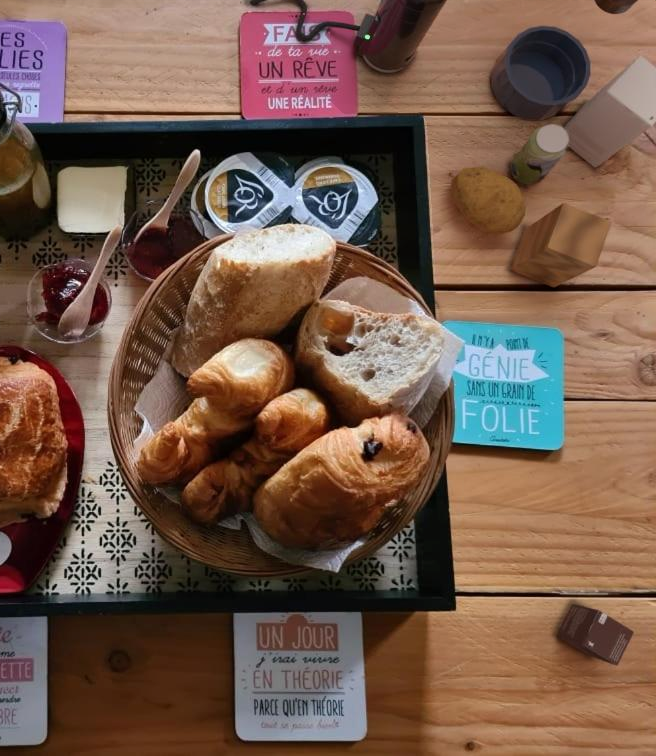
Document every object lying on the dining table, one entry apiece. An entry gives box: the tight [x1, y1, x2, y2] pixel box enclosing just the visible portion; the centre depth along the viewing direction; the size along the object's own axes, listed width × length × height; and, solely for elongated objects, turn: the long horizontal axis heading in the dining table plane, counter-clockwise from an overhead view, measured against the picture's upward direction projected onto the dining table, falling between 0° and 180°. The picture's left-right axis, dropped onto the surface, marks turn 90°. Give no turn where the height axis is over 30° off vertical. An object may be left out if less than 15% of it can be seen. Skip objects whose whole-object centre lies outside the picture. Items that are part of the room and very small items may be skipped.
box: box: [556, 603, 635, 666], centre depth 114 cm, size 6×6×7 cm
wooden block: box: [509, 202, 612, 288], centre depth 120 cm, size 8×8×12 cm
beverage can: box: [510, 123, 570, 186], centre depth 123 cm, size 6×7×12 cm
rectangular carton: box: [563, 54, 656, 168], centre depth 122 cm, size 9×9×15 cm
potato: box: [450, 165, 527, 235], centre depth 123 cm, size 10×13×9 cm
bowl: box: [490, 25, 591, 121], centre depth 128 cm, size 15×15×6 cm
